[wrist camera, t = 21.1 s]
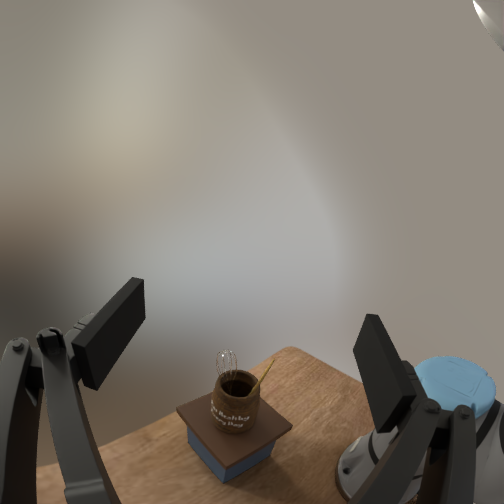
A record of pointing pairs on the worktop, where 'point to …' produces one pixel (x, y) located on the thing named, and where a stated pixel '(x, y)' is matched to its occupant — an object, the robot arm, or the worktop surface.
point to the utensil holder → (236, 400)
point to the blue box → (231, 438)
